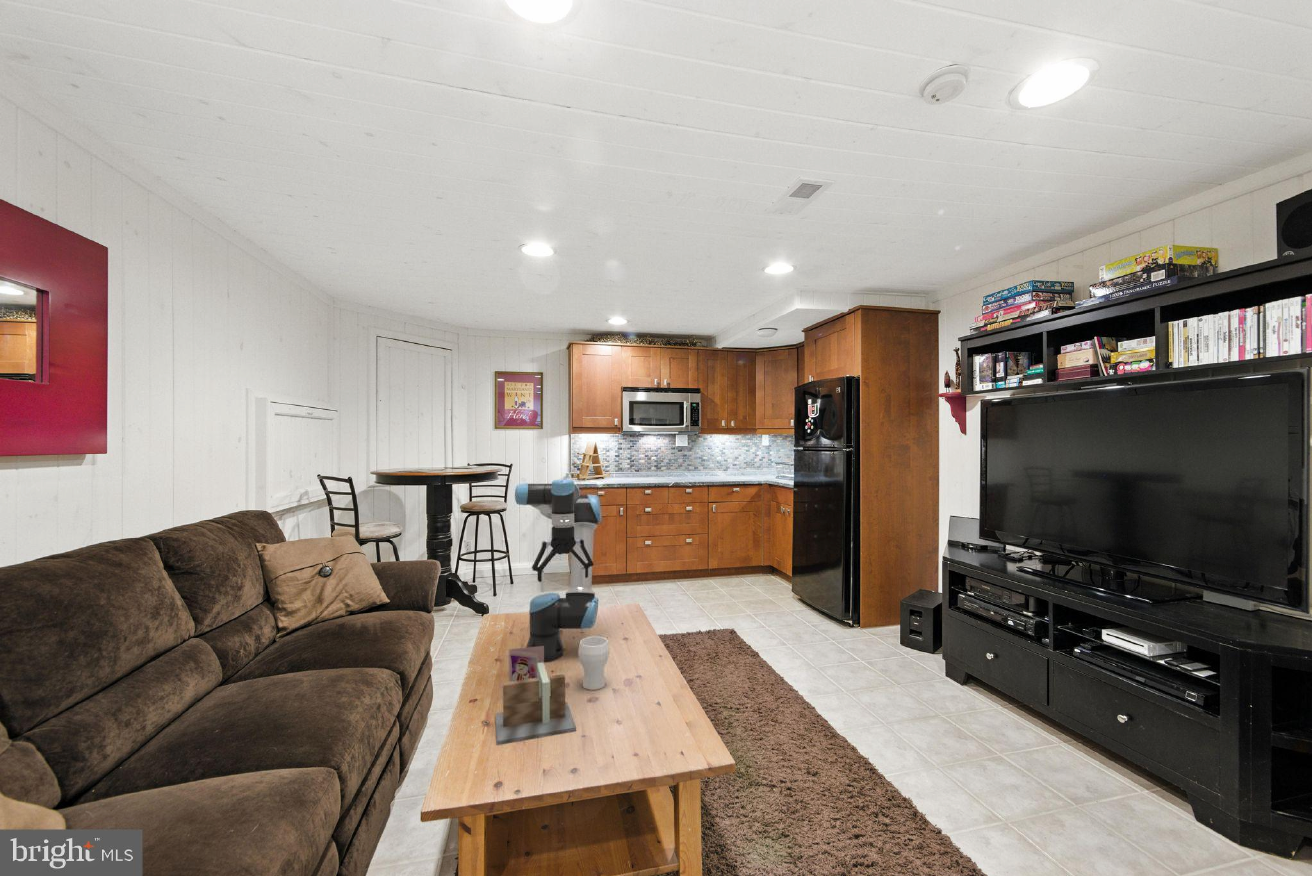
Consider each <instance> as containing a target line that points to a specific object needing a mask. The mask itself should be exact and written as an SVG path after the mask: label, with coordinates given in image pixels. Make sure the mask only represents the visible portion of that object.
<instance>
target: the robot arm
mask: <svg viewBox="0 0 1312 876" xmlns="http://www.w3.org/2000/svg"><path fill="white" fill-rule="evenodd" d="M514 500H515V503H516V504H517V505H521V506H531V507H533V508H534V509H536V510H538V511H539V512H540V514H541V515H542V516H543V517H545V518H547V519H550V520H551V525H552V526H551V540H550V541H545V540H542V542H541V548H540V549H539V552H538V554H537V556H536V557H535V560H534V562H533V564H532V566H531V569H532V571H533V572H537V581H538V582H539V583H540V591H541V593H543V594H540V595H537V596H535V597H533V598H532V599H531V600H530V602H529V610H528V613H529V637H528V640H527V644H526V646H525V648H528V647H538V646H544V663H545V662H546V663H548V662H552V661H553V662H554V661H556V660H559V659H560V658H562V657H563V656H564V654H565V647H564V643H563V640H562V638H561V634H560V632H561V631H560V630H567V629H568V630H571V629H572V630H575V629H576V630H577V629H579V630H586V629H587V630H588V629H592V628H593V627H594V626H595V624H596V620H597V616H598V611H599V598H597V597H596V596H595V595H596V593H595V592H594V590H592V589H593V588H592V583H593V582H592V580H593V567H594V565H595V564H594V561H593V560H594V559H593V558H594V557H593V556H594V555H593V554H594V535H595V533H594V532H595V530H596V529H597V528H598V526H599V523H601V522H602V507H601V501H600V498H599V496H598V495H597V494H588V493H586V494H581V490H580V488H579V486H578V485H577V484H575V481H574V480H573V479H565V478H564V479H561V478H560V479H554V480H552V482H551V483H527V482H526V483H519V484H517V485H516V487H515V490H514ZM549 546H550V547H551V548H552V549H551V550H550V551H549V553H548V554H547V556H546V557H545V558H544V560H542V559H543V557H544V554H545V552H546V550H547V549H549ZM570 553H571V565H570V579H569V581H570V582H569V589H568V590H567V591H566V592H565V596H564V597H561V596H560V594H559V593H558V592H549V593H545V572H544V569H545V568H546V567H547V565H548V564H549V563H550V561H551V560H552V559H553V558H554V557H555V556H556V555H568V554H570ZM541 561H542V562H541Z"/></svg>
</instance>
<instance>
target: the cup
mask: <svg viewBox="0 0 1312 876" xmlns="http://www.w3.org/2000/svg"><path fill="white" fill-rule="evenodd" d="M577 654H578V655H577V656H578V659H579V662H580V665H581V667H582V669H583V680H582V687H583V688H584V689H585V690H591V691H596V690H600V689H602V688H604V687H605V685H606V681H605V680H606V679H605V666H606V665H607V663H608V660H609V656H610V646H609V641H608V639H607V638H606V637H603V636H594V635H593V636H587V637H584V638H582V639H580V642H579V646H578V653H577Z"/></svg>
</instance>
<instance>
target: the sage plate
mask: <svg viewBox="0 0 1312 876" xmlns="http://www.w3.org/2000/svg"><path fill="white" fill-rule="evenodd" d="M537 678H539V698H540V697H541V698H542V723H543V724H546V723H550V679H549V676H548V673H547V669H546V666H545V662H541V663H537Z"/></svg>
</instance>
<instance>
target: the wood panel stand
mask: <svg viewBox="0 0 1312 876" xmlns="http://www.w3.org/2000/svg"><path fill="white" fill-rule="evenodd" d="M549 678H550V679H549V682H550V723H546V724H543V723H542V698H541V697H540V698H539V678H533V679H526V680H519V681H512V682H509V681H506V682H502V711H501V712H495V713H494V717H495V718H494V719H495V732H496V733H495V734H496V745H503V744H509V743H516V742H521V741H526V740H531V739H537V738H543V737H547V736H549V737H550V736H553V735H559V734H565V733H571V732H575V731H577V727H576V722H575V721H574V717H573V714H572V711H571V709H570V705H569V703H568V701H566V675H565V673H563V674H556V675H555V674H554V675H550V677H549Z"/></svg>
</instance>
